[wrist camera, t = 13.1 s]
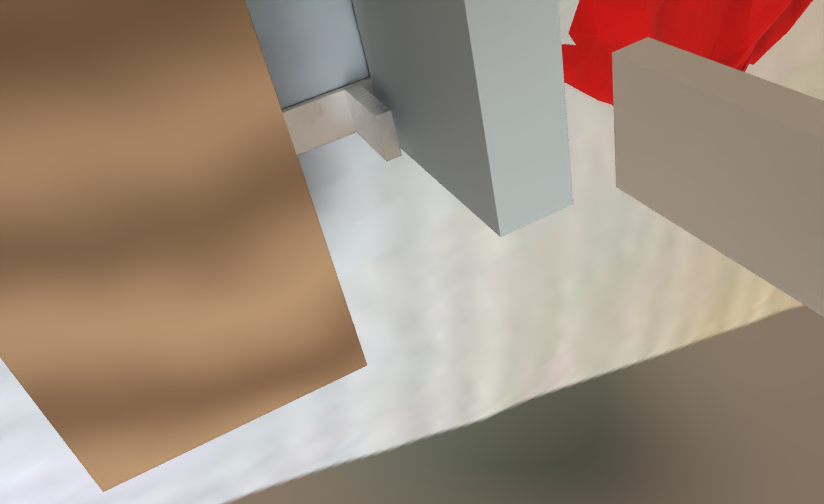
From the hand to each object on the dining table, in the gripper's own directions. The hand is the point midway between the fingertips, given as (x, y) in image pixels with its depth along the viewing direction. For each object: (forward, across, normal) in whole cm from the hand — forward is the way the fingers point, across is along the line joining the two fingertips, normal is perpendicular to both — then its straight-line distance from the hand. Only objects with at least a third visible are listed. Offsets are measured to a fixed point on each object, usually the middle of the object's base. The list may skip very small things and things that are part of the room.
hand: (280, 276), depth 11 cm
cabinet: (+24, -2, -4) cm, 24 cm away
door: (+23, +12, -5) cm, 26 cm away
